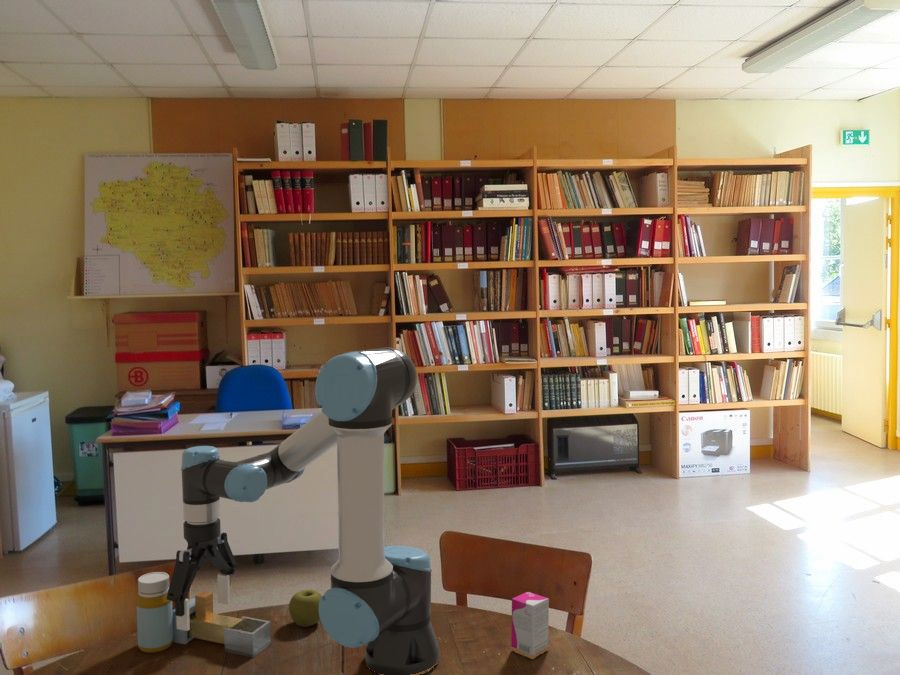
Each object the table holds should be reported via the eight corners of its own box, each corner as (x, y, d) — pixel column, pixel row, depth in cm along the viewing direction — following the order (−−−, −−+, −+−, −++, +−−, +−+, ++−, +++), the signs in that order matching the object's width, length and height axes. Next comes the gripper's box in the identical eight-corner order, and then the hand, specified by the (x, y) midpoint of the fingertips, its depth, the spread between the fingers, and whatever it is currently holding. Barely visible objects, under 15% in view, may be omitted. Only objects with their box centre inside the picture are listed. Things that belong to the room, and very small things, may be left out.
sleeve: (270, 644, 168) (270, 621, 167) (253, 657, 162) (252, 634, 161) (243, 638, 170) (242, 616, 170) (224, 651, 164) (224, 628, 164)
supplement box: (549, 650, 165) (549, 597, 164) (532, 660, 161) (532, 606, 160) (527, 641, 169) (527, 590, 168) (509, 651, 164) (510, 598, 163)
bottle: (161, 655, 162) (159, 585, 161) (131, 652, 164) (128, 582, 163) (179, 640, 169) (177, 572, 168) (150, 637, 171) (148, 570, 169)
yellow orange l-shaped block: (243, 637, 168) (242, 596, 168) (232, 645, 165) (231, 604, 164) (194, 627, 173) (192, 587, 172) (181, 635, 169) (180, 594, 169)
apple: (322, 631, 173) (321, 600, 173) (285, 631, 173) (285, 600, 173) (327, 616, 181) (327, 586, 180) (293, 616, 181) (292, 586, 180)
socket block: (205, 630, 174) (205, 599, 173) (184, 644, 167) (183, 612, 167) (194, 628, 175) (193, 597, 174) (173, 641, 168) (172, 610, 168)
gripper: (223, 501, 180) (225, 590, 182) (145, 535, 157) (149, 638, 159) (251, 504, 178) (253, 595, 180) (176, 540, 154) (179, 644, 156)
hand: (204, 615), depth 169 cm, fingers open, 13 cm apart
